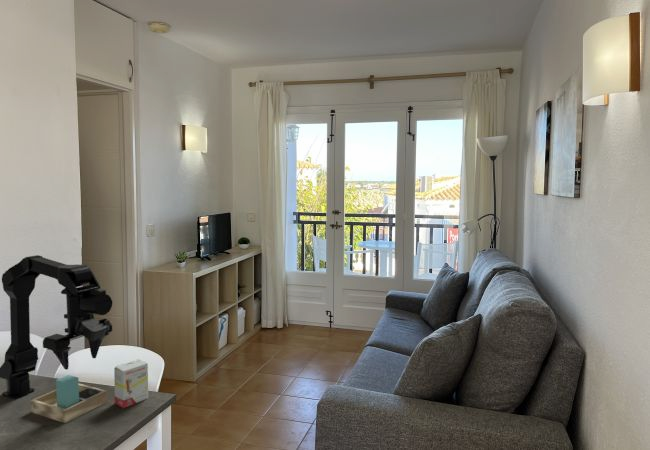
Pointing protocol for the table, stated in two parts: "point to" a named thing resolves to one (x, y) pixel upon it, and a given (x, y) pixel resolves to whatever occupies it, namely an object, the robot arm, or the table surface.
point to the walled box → (87, 402)
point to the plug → (67, 391)
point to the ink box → (131, 383)
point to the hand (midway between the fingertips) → (80, 363)
